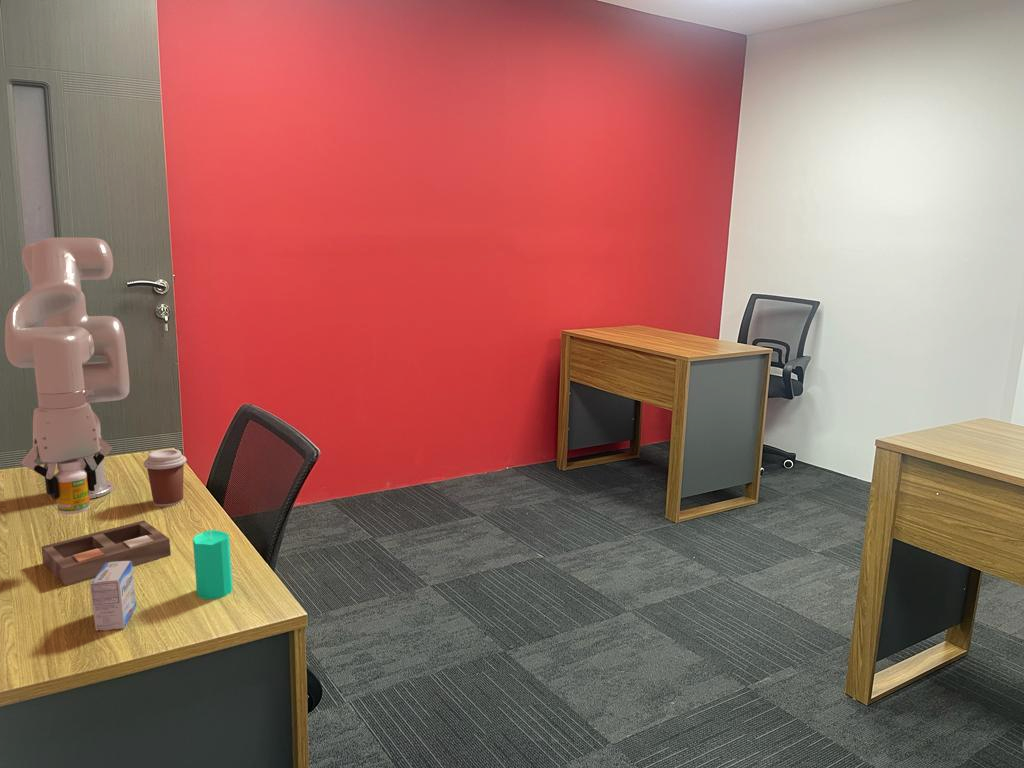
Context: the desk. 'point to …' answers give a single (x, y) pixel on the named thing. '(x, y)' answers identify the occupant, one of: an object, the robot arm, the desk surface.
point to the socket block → (104, 551)
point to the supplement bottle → (72, 487)
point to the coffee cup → (166, 476)
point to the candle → (212, 564)
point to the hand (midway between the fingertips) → (72, 492)
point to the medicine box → (113, 595)
